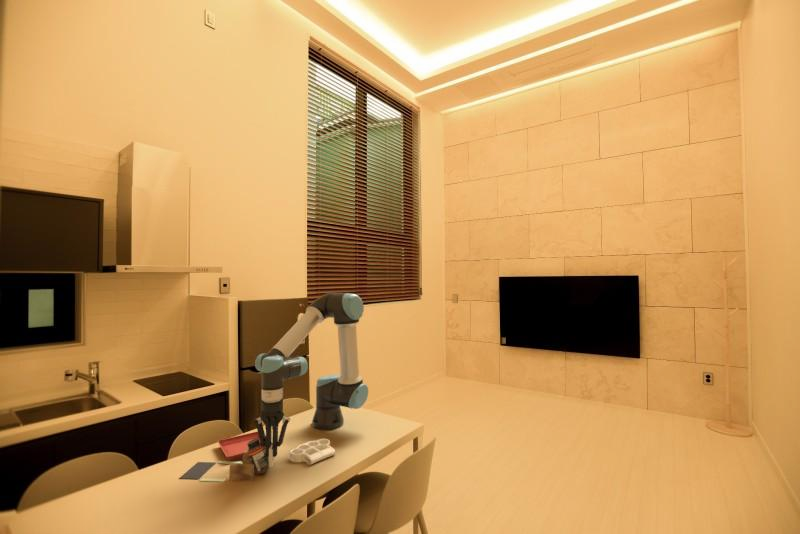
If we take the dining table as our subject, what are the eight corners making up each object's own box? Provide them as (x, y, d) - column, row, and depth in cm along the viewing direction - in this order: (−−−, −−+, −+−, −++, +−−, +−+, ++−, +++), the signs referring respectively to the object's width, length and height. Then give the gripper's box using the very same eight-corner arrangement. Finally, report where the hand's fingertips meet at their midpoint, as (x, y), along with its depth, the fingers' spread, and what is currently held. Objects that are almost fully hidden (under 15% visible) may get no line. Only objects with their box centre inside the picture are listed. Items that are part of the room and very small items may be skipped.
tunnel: (265, 464, 146) (265, 451, 146) (251, 480, 134) (252, 466, 134) (244, 463, 146) (244, 450, 147) (229, 480, 134) (229, 465, 135)
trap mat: (215, 463, 147) (215, 462, 147) (198, 479, 135) (198, 478, 135) (197, 462, 147) (197, 461, 147) (179, 478, 135) (179, 478, 135)
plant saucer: (226, 465, 146) (226, 456, 146) (216, 448, 161) (217, 440, 161) (273, 453, 157) (274, 444, 157) (260, 438, 171) (261, 430, 171)
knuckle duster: (304, 470, 143) (282, 457, 153) (341, 454, 157) (320, 443, 166) (304, 460, 143) (283, 448, 153) (341, 445, 157) (320, 435, 166)
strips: (241, 462, 148) (241, 461, 148) (223, 482, 133) (223, 481, 133) (220, 461, 148) (220, 460, 148) (199, 481, 134) (199, 480, 134)
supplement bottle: (255, 472, 141) (244, 443, 142) (271, 463, 144) (260, 434, 144) (255, 477, 136) (244, 447, 136) (272, 468, 138) (261, 438, 139)
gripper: (250, 402, 137) (250, 470, 136) (286, 402, 137) (285, 470, 136) (258, 396, 145) (258, 460, 143) (292, 396, 144) (292, 460, 143)
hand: (271, 465), depth 140 cm, fingers closed
